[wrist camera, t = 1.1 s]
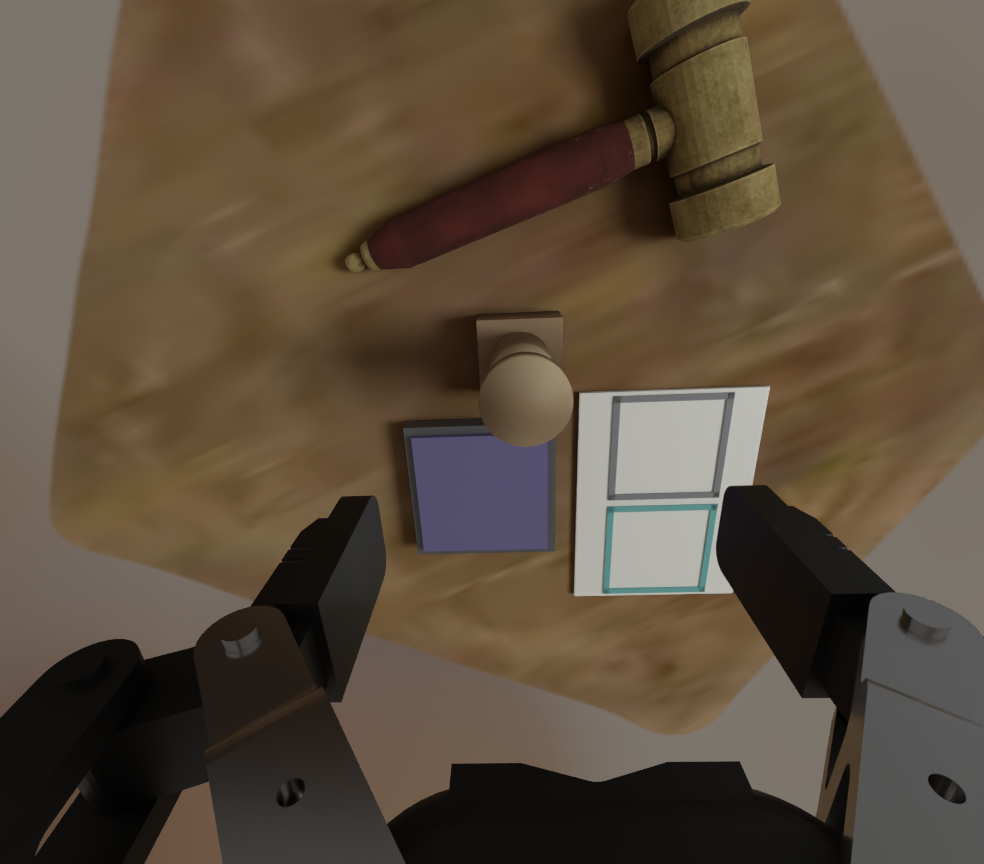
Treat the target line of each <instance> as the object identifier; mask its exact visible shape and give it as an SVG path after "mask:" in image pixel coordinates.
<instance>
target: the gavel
mask: <svg viewBox="0 0 984 864" xmlns="http://www.w3.org/2000/svg"><path fill="white" fill-rule="evenodd" d="M750 3H751V0H635V1H634V3H633V5H632V6H631V8H630V10H629V11H628V13H627V20H628V24H629V29H630V33H631V37H632V42H633V46H634V51H635V55H636V60H637V63H638V64H647V63H649V65H650V69H651V74H652V79H653V82H652V84H651V85H650V88H651V92H652V97H653V101H654V107H652V108H650V109H648V110H645V111H644V114H643V116H641V115H640V114H638V115H636V116H633V117H631V118H629V119H627V120H624V121H622V122H617V123H613V124H609V125H605V126H601V127H597V128H594V129H592V130H589V131H587V132H585V133H583V134H580V135H578V136H576V137H574V138H571V139H569V140H567V141H564V142H562V143H560V144H558V145H555V146H553V147H551V148H549V149H546V150H544V151H542V152H540V153H537V154H535V155H533V156H531V157H528V158H526V159H524V160H522V161H519V162H517V163H515V164H513V165H510V166H508V167H506V168H504V169H501V170H499V171H497V172H495V173H492V174H490V175H488V176H485V177H483V178H481V179H479V180H476V181H474V182H472V183H470V184H467V185H465V186H463V187H461V188H458V189H456V190H454V191H452V192H449V193H447V194H445V195H443V196H440V197H438V198H436V199H434V200H431V201H429V202H427V203H425V204H422V205H420V206H418V207H416V208H413V209H411V210H409V211H406V212H404V213H402V214H400V215H397V216H395V217H393V218H391V219H388V220H387V221H386V222H385V223H384V224H383V225H382V226H381V227H380V228H379V229H378V230H377V231H376V232H375V233H374V234H373V235H372V236H371V237H370V238H369V239H368V240H367V241H364V242H363V243H362V245H361V247H360V249H361V252H360V253H352V254H349V255H348V256H347V258H346V259H345V262H346V265H347V267H348V269H349V270H350V272H353V273H359V272H361V271H363V270H364V268H365V267H367V266H368V267H369V268H370V269H371V270H373V271H378V270H381V269H396V268H411V267H413V266H416V265H418V264H421V263H423V262H426V261H428V260H430V259H433V258H435V257H438V256H440V255H442V254H445V253H447V252H450V251H452V250H455V249H457V248H459V247H462V246H464V245H467V244H469V243H471V242H474V241H476V240H479V239H481V238H483V237H486V236H488V235H491V234H493V233H496V232H498V231H500V230H503V229H505V228H508V227H510V226H512V225H515V224H517V223H520V222H522V221H525V220H527V219H529V218H532V217H534V216H537V215H539V214H541V213H544V212H546V211H549V210H551V209H554V208H556V207H558V206H561V205H563V204H566V203H568V202H570V201H573V200H575V199H578V198H580V197H583V196H585V195H587V194H590V193H592V192H595V191H597V190H599V189H602V188H604V187H607V186H609V185H611V184H612V183H614V182H616V181H617V180H619V179H620V178H622V177H624V176H625V175H627V174H629V173H630V172H632V171H633V170H636V169H638V168H640V167H643V166H645V165H648V164H650V162H651V159H653V160H654V161H655V162H656V161H659V160H661V159H664V158H666V160H667V165H668V169H669V174H670V177H674V180H675V185H676V189H677V194H678V198H676V199H675V200H673V201H671V202H669V207H670V211H671V216H672V220H673V225H674V229H675V233H676V238H677V240H680V241H684V242H688V241H694V240H699V239H703V238H707V237H710V236H714V235H717V234H720V233H724V232H727V231H730V230H733V229H735V228H738V227H741V226H744V225H746V224H749V223H751V222H754V221H756V220H759V219H761V218H763V217H765V216H767V215H769V214H771V213H772V212H774V211H775V210H776V209H777V208H778V207H779V206H780V204H781V202H780V196H779V189H778V182H777V175H776V169H775V163H772V164H767V165H762V160H761V153H760V147H759V143H760V142H761V141H762V140H763V139H762V132H761V126H760V119H759V112H758V106H757V99H756V93H755V86H754V80H753V73H752V67H751V60H750V54H749V47H748V41H747V37H742V32H741V25H740V19H739V15H741V14H742V13H743V12H744V11H745V10H746V9H747V8H748V7H749V6H750Z"/></svg>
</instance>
